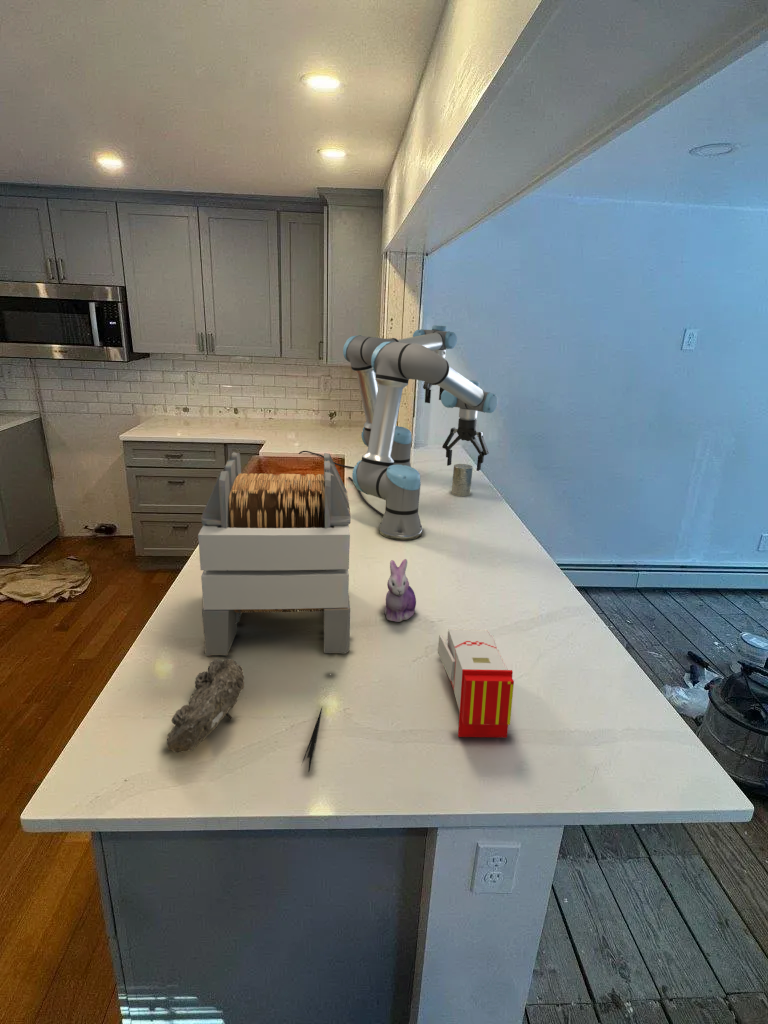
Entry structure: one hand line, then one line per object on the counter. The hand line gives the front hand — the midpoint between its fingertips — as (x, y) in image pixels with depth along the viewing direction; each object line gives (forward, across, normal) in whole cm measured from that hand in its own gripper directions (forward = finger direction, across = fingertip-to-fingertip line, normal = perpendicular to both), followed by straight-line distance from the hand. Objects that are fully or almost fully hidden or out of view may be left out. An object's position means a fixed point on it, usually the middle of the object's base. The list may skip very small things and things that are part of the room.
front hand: (463, 467), depth 244 cm
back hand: (-19, +35, -43) cm, 58 cm away
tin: (+12, 0, 0) cm, 12 cm away
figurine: (+10, -27, +107) cm, 111 cm away
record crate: (+10, -3, +125) cm, 126 cm away
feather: (+10, -33, +150) cm, 154 cm away
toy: (+10, -54, +127) cm, 138 cm away
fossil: (+10, -15, +161) cm, 162 cm away
